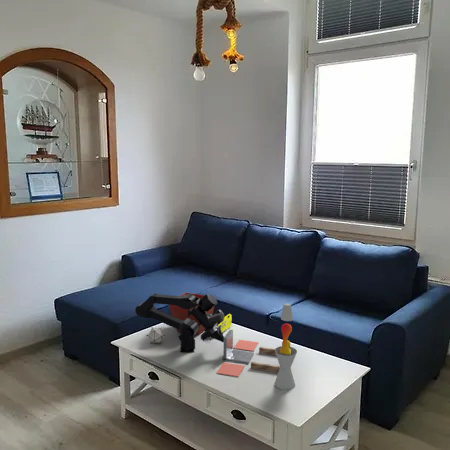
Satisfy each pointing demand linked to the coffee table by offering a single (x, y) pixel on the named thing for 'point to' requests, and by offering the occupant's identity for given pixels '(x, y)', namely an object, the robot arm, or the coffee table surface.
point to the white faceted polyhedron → (155, 335)
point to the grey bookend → (234, 351)
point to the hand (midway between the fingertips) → (224, 341)
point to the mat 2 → (246, 345)
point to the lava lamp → (285, 353)
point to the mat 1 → (230, 369)
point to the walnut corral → (265, 366)
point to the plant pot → (183, 313)
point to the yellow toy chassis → (226, 323)
